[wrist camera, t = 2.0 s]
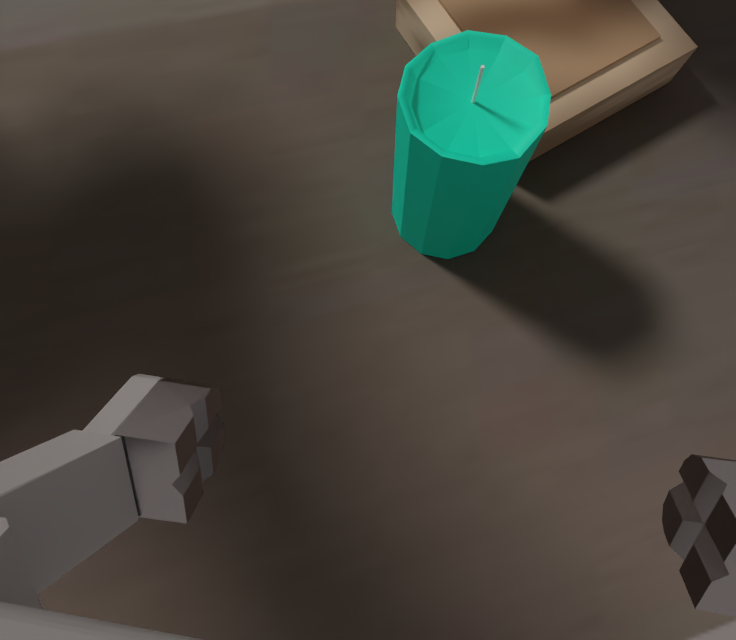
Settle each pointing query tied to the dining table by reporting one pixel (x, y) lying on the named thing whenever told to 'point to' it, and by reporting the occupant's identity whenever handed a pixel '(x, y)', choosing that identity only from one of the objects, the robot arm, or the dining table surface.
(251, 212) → the dining table surface
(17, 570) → the robot arm
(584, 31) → the base block
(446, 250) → the candle
